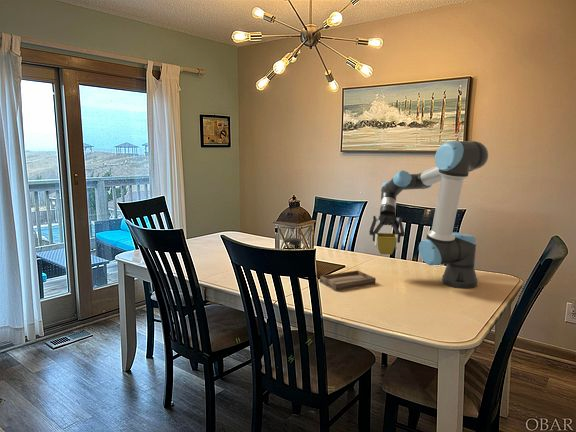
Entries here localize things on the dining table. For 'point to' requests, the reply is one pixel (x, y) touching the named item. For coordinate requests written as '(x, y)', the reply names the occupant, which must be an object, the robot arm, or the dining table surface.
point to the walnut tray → (347, 280)
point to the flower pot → (386, 243)
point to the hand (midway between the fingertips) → (385, 247)
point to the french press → (293, 241)
